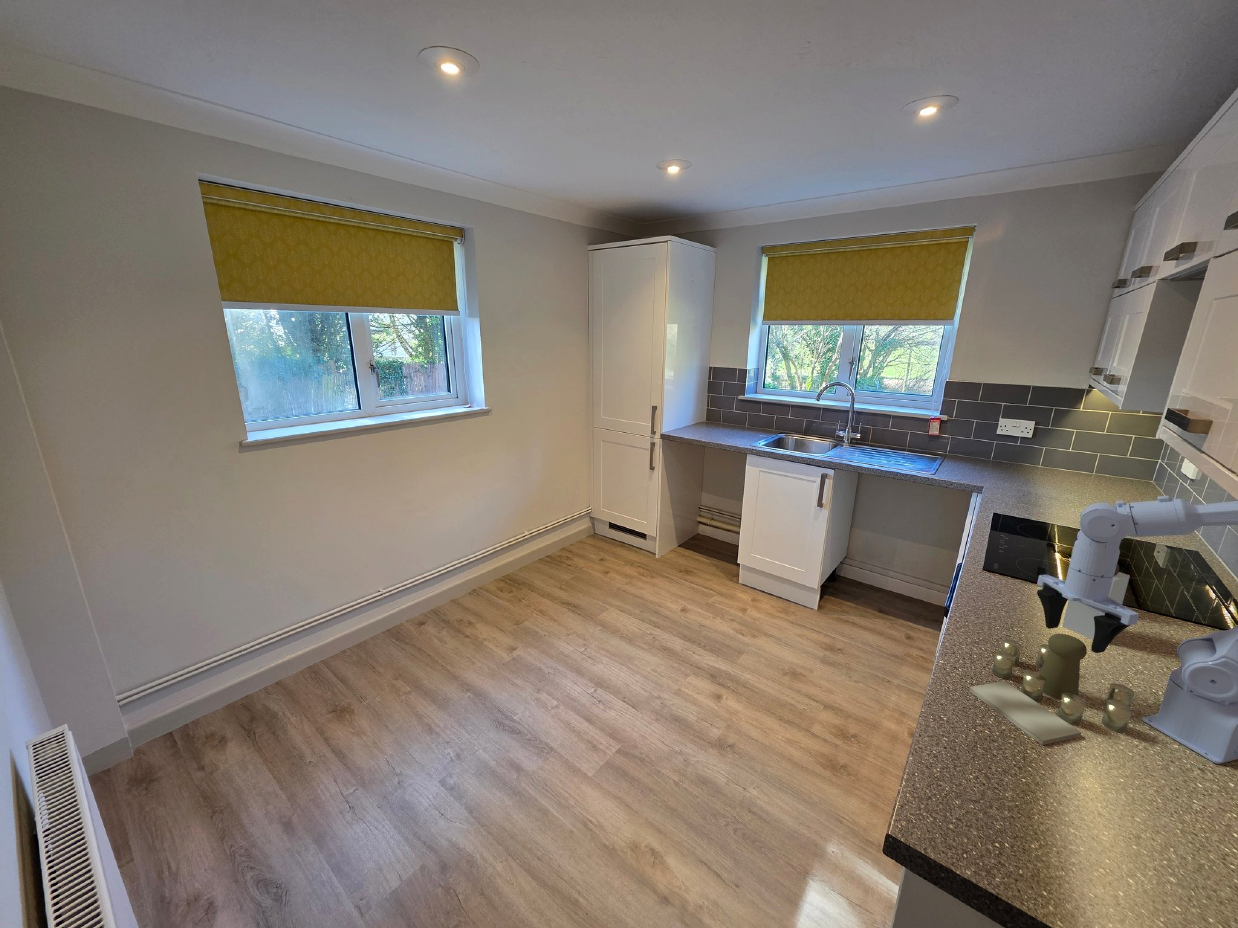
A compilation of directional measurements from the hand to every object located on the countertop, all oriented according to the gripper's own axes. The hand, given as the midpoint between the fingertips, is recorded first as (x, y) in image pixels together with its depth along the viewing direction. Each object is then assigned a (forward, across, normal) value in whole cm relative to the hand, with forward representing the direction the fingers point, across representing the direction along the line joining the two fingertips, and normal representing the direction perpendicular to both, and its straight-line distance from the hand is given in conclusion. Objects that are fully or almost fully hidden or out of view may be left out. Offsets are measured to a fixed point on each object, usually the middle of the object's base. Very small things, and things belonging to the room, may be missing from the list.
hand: (1073, 638), depth 89 cm
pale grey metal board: (+10, +3, -14) cm, 17 cm away
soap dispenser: (+11, -15, +26) cm, 32 cm away
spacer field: (+10, 0, -2) cm, 11 cm away
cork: (+11, 0, -2) cm, 11 cm away
